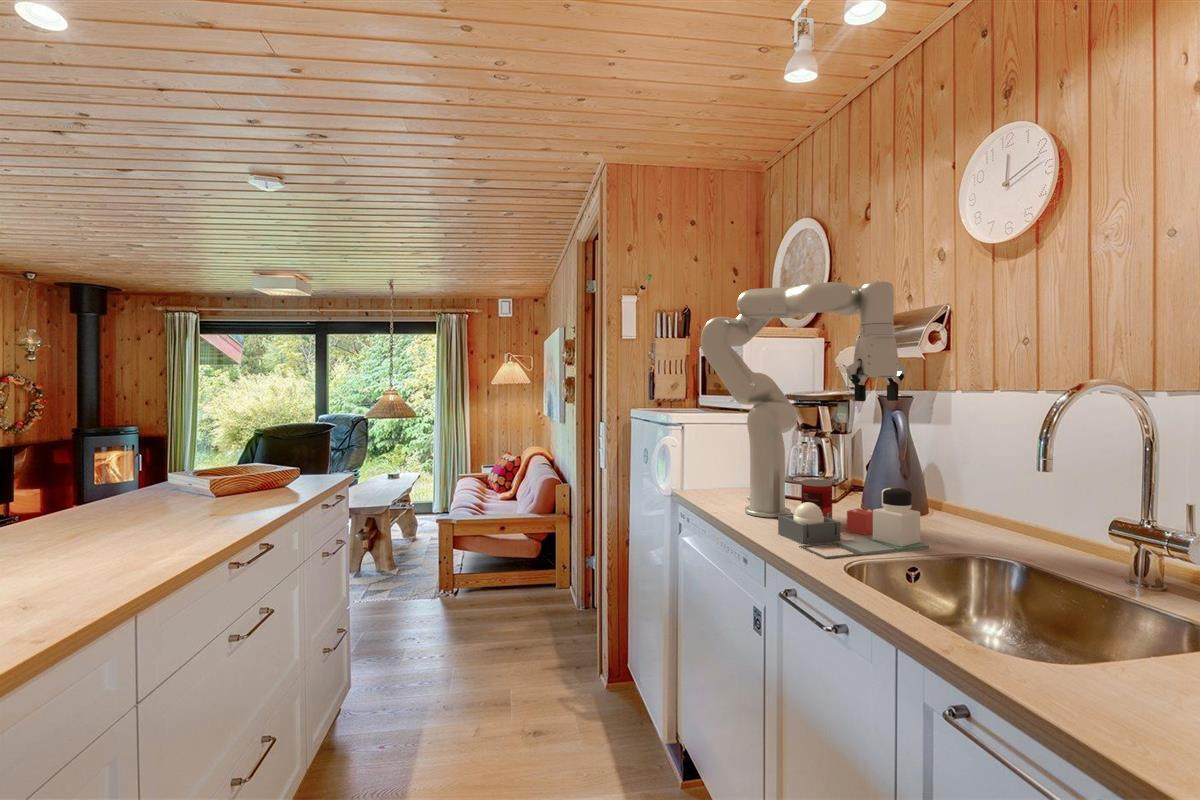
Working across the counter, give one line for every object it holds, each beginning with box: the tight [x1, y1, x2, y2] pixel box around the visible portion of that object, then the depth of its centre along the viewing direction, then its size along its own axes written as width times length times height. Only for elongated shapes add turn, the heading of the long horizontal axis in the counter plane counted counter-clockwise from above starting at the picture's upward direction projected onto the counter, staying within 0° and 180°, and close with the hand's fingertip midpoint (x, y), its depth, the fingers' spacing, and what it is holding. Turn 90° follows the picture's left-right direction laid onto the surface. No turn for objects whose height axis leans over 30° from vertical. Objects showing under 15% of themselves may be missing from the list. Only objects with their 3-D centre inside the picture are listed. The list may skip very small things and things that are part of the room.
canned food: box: [800, 478, 833, 519], centre depth 151 cm, size 8×8×11 cm
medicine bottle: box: [872, 487, 921, 547], centre depth 130 cm, size 7×7×12 cm
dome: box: [793, 502, 824, 524], centre depth 137 cm, size 7×7×6 cm
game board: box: [798, 537, 930, 560], centre depth 128 cm, size 9×27×1 cm, turn 105°
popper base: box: [777, 514, 841, 545], centre depth 137 cm, size 10×10×4 cm
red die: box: [846, 507, 873, 536], centre depth 142 cm, size 5×5×6 cm
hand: (876, 400), depth 144 cm, fingers open, 9 cm apart
